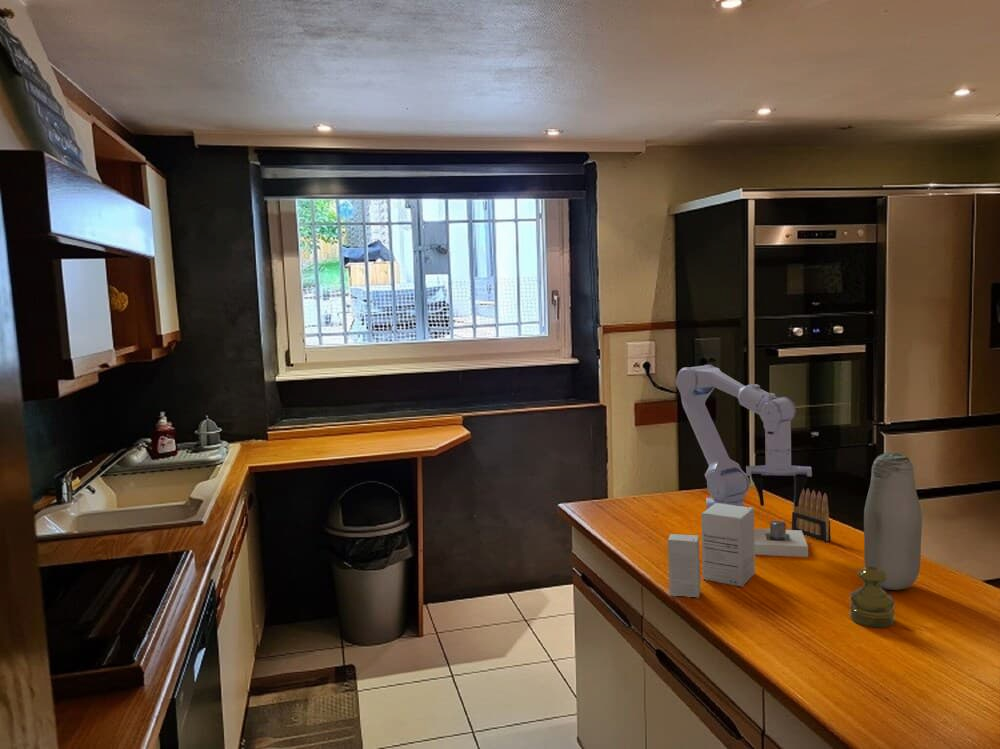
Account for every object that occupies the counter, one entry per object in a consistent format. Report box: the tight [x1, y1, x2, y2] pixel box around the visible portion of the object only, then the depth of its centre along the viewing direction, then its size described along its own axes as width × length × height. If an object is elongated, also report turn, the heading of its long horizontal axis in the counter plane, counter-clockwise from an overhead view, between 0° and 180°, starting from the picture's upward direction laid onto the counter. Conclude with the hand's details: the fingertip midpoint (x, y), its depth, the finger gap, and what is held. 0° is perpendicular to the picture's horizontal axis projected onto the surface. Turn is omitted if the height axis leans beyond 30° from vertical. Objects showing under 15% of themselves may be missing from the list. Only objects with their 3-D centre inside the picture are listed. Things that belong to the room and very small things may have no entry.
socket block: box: [754, 528, 809, 558], centre depth 181 cm, size 12×12×2 cm
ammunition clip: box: [791, 488, 832, 543], centre depth 187 cm, size 11×2×12 cm, turn 25°
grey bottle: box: [863, 452, 923, 591], centre depth 153 cm, size 10×10×28 cm
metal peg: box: [769, 520, 787, 541], centre depth 180 cm, size 4×4×6 cm
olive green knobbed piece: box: [849, 567, 895, 629], centre depth 139 cm, size 7×7×10 cm
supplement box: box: [700, 503, 756, 588], centre depth 163 cm, size 9×9×15 cm
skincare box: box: [667, 533, 701, 599], centre depth 155 cm, size 6×4×12 cm
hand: (778, 505), depth 180 cm, fingers open, 7 cm apart
